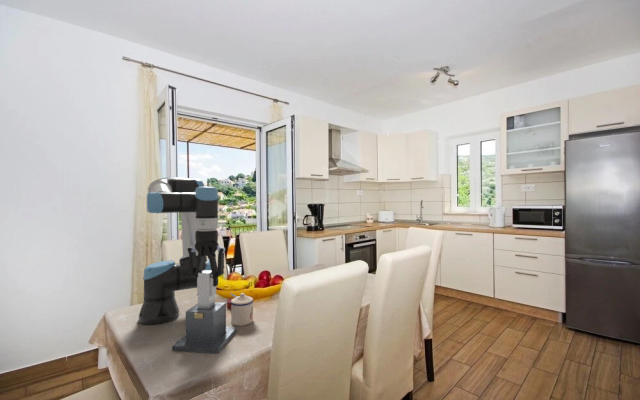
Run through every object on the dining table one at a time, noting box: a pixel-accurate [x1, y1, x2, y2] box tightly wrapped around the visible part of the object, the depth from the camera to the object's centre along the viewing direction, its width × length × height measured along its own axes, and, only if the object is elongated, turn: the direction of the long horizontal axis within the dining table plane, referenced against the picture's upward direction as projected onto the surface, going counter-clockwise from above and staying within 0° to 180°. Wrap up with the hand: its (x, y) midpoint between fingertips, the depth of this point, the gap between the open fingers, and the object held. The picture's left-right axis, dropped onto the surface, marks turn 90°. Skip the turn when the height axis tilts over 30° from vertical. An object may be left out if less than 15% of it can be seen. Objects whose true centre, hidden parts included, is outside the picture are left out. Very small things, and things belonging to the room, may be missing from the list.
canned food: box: [226, 293, 238, 310], centre depth 138 cm, size 11×10×10 cm
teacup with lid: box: [230, 292, 254, 327], centre depth 121 cm, size 12×9×12 cm
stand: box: [171, 301, 238, 354], centre depth 104 cm, size 16×16×12 cm
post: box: [197, 270, 216, 310], centre depth 104 cm, size 4×4×20 cm
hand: (206, 294), depth 104 cm, fingers closed on post, 4 cm apart
